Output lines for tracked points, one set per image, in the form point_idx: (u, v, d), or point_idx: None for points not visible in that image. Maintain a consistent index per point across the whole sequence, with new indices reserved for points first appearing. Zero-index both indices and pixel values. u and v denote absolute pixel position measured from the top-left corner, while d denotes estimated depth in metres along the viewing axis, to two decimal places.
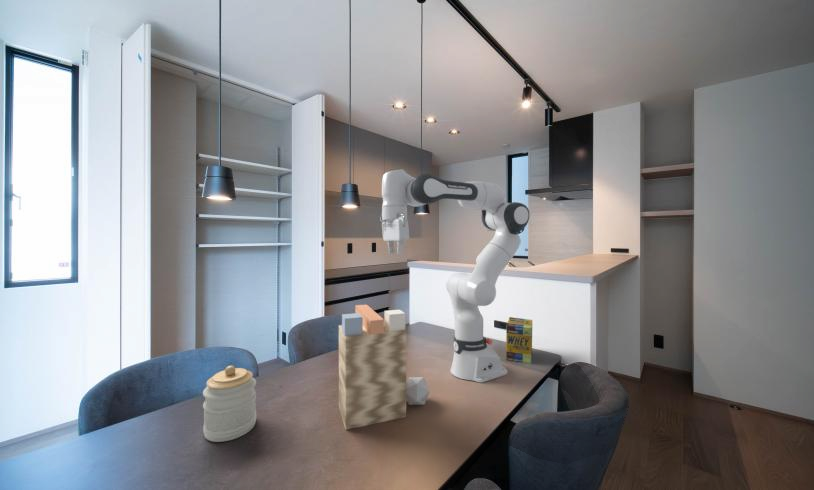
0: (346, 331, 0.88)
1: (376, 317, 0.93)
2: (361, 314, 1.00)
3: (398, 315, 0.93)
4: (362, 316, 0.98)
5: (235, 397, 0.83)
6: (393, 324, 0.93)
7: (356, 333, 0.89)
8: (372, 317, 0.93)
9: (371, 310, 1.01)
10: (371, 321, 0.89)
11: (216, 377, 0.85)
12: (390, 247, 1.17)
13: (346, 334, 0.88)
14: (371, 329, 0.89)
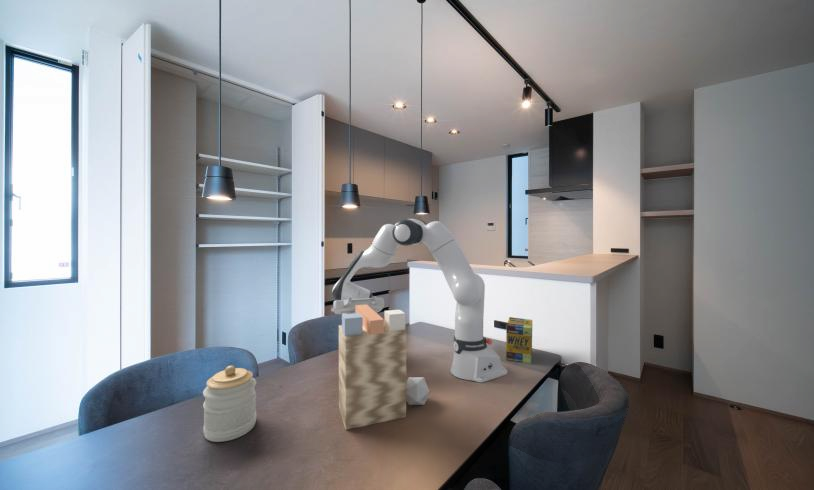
0: (346, 331, 0.88)
1: (376, 317, 0.93)
2: (361, 314, 1.00)
3: (398, 315, 0.93)
4: (362, 316, 0.98)
5: (235, 397, 0.83)
6: (393, 324, 0.93)
7: (356, 333, 0.89)
8: (372, 317, 0.93)
9: (371, 310, 1.01)
10: (371, 321, 0.89)
11: (216, 377, 0.86)
12: None
13: (346, 334, 0.88)
14: (371, 329, 0.89)
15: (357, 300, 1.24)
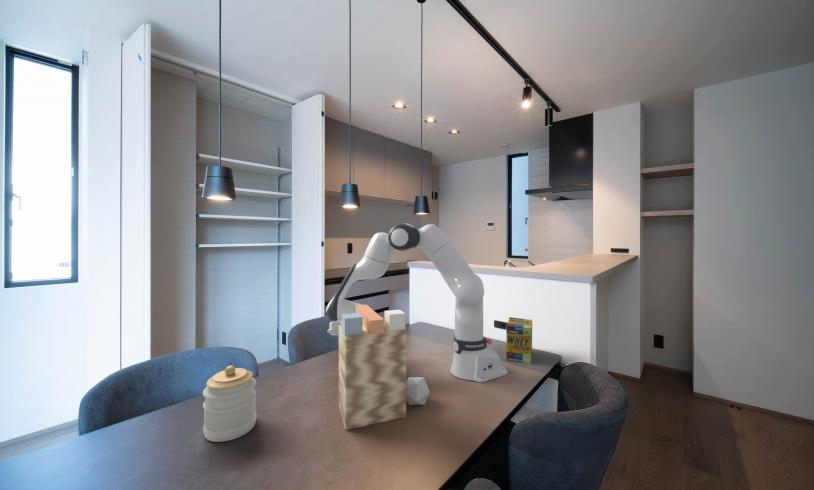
0: (346, 331, 0.88)
1: (376, 317, 0.93)
2: (361, 314, 1.00)
3: (398, 315, 0.93)
4: (362, 316, 0.98)
5: (235, 397, 0.83)
6: (393, 324, 0.93)
7: (356, 333, 0.89)
8: (372, 317, 0.93)
9: (371, 310, 1.01)
10: (371, 321, 0.89)
11: (216, 377, 0.85)
12: None
13: (346, 334, 0.88)
14: (371, 329, 0.89)
15: None
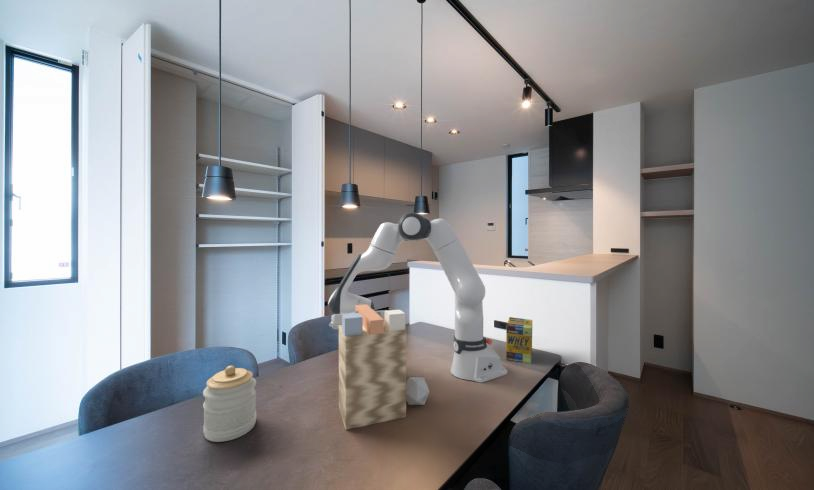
0: (346, 331, 0.88)
1: (376, 317, 0.93)
2: (361, 314, 1.00)
3: (398, 315, 0.93)
4: (362, 316, 0.98)
5: (235, 397, 0.83)
6: (393, 324, 0.93)
7: (356, 333, 0.89)
8: (372, 317, 0.93)
9: (371, 310, 1.01)
10: (371, 321, 0.89)
11: (216, 377, 0.85)
12: None
13: (346, 334, 0.88)
14: (371, 329, 0.89)
15: None
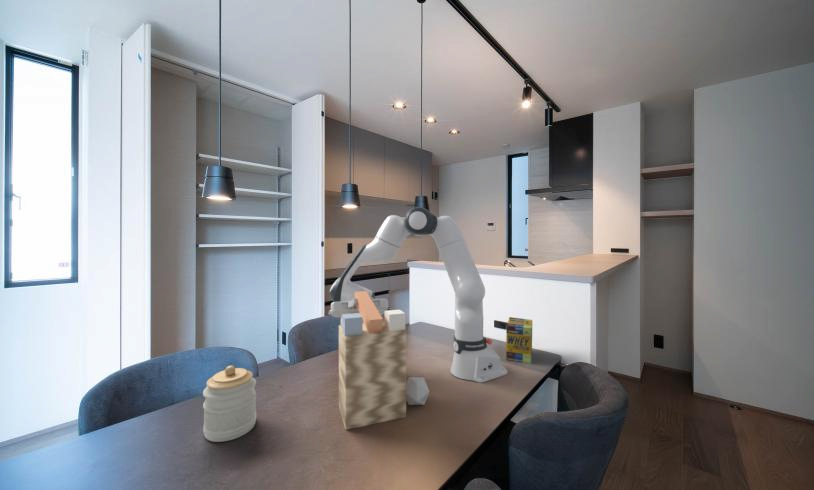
0: (346, 331, 0.88)
1: (375, 314, 0.94)
2: (360, 306, 1.00)
3: (398, 315, 0.93)
4: (361, 308, 0.99)
5: (235, 397, 0.83)
6: (393, 324, 0.93)
7: (356, 333, 0.89)
8: (371, 314, 0.94)
9: (370, 302, 1.02)
10: (370, 320, 0.90)
11: (216, 377, 0.85)
12: None
13: (346, 334, 0.88)
14: (370, 328, 0.91)
15: None
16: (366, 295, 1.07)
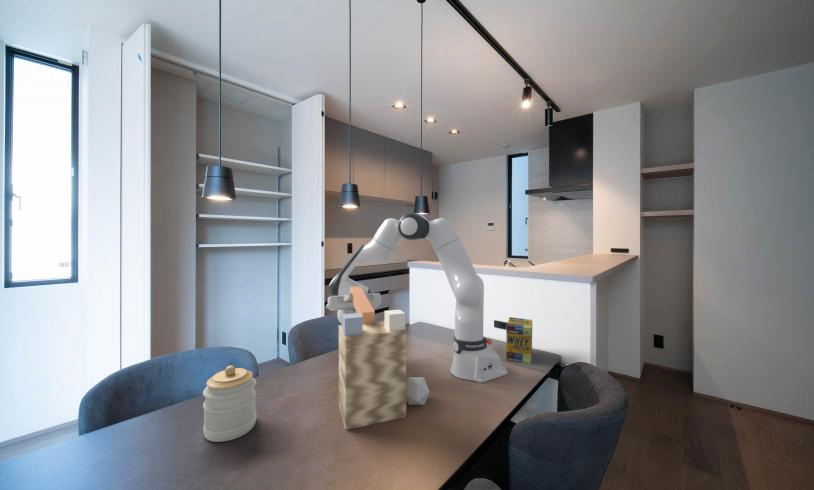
0: (346, 331, 0.88)
1: (368, 308, 1.02)
2: (355, 300, 1.09)
3: (398, 315, 0.93)
4: (356, 302, 1.08)
5: (235, 397, 0.83)
6: (393, 324, 0.93)
7: (356, 333, 0.89)
8: (364, 307, 1.02)
9: (364, 296, 1.11)
10: (363, 313, 0.99)
11: (216, 377, 0.85)
12: None
13: (346, 334, 0.88)
14: (363, 320, 0.99)
15: None
16: (360, 290, 1.15)
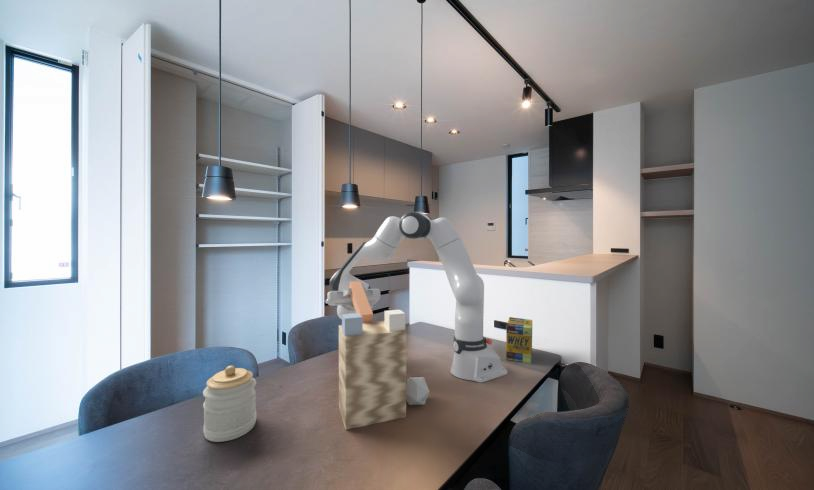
0: (346, 331, 0.88)
1: (367, 309, 1.04)
2: (354, 297, 1.10)
3: (398, 315, 0.93)
4: (355, 300, 1.09)
5: (235, 397, 0.83)
6: (393, 324, 0.93)
7: (356, 333, 0.89)
8: (363, 308, 1.04)
9: (363, 294, 1.12)
10: (362, 315, 1.01)
11: (216, 377, 0.85)
12: None
13: (346, 334, 0.88)
14: None
15: None
16: (360, 286, 1.16)
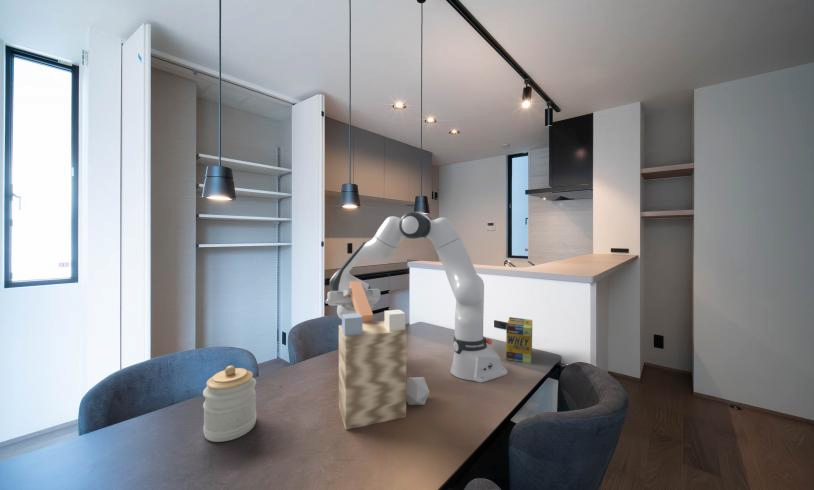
0: (346, 331, 0.88)
1: (367, 309, 1.04)
2: (354, 297, 1.10)
3: (398, 315, 0.93)
4: (355, 301, 1.09)
5: (235, 397, 0.83)
6: (393, 324, 0.93)
7: (356, 333, 0.89)
8: (363, 309, 1.04)
9: (363, 294, 1.12)
10: (362, 316, 1.01)
11: (216, 377, 0.85)
12: None
13: (346, 334, 0.88)
14: None
15: None
16: (360, 286, 1.16)
